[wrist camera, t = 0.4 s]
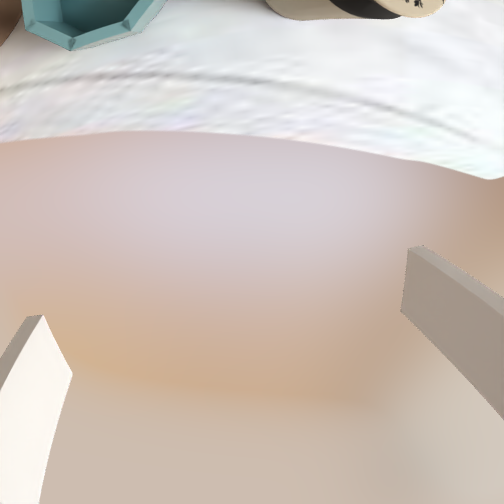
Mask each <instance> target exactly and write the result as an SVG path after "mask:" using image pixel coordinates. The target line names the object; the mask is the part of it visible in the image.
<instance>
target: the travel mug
mask: <svg viewBox="0 0 504 504" xmlns="http://www.w3.org/2000/svg"><path fill="white" fill-rule="evenodd" d="M265 1H266V2H267V4H268V5H269V6H270V7H271V8H272V9H273V10H274V11H275V12H277V13H278V14H280V15H282V16H284V17H286V18H289V19H293V20H299V21H305V20H320V19H394V18H398V17H400V16H405V17H411V18H421V17H426V16H429V15H431V14H433V13H435V12H436V11H438V10H439V9H440V8H441V7H442V6H443V4H444V3H445V1H446V0H265Z"/></svg>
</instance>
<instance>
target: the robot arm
mask: <svg viewBox="0 0 504 504" xmlns="http://www.w3.org/2000/svg"><path fill="white" fill-rule="evenodd" d="M401 312H402V313H403V314H404V315H405V316H406V317H407V318H408V319H409V320H410V321H411V322H412V323H413V324H414V325H415V326H416V327H417V328H418V329H419V330H420V331H421V332H422V333H423V334H424V335H425V336H426V337H427V338H428V339H429V340H430V341H431V342H432V343H433V344H434V345H435V346H436V347H437V348H438V349H439V350H440V351H441V352H442V353H443V354H444V355H445V356H446V357H447V359H448V360H449V361H450V362H451V363H452V364H453V365H454V366H455V367H456V368H457V369H458V370H459V371H460V372H461V373H462V374H463V375H464V376H465V378H467V380H468V381H469V382H470V383H471V384H472V385H473V386H474V387H475V388H476V389H477V390H478V392H479V393H480V394H481V395H482V396H483V397H484V398H485V399H486V400H487V401H488V403H489V404H490V405H491V406H492V407H493V408H494V409H495V410H496V412H497V413H498V414H499V415H500V416H501V417H502V418H503V419H504V298H503V297H502V296H500V295H499V294H497V293H496V292H494V291H493V290H492V289H490V288H489V287H487V286H486V285H484V284H483V283H481V282H480V281H478V280H477V279H475V278H474V277H472V276H471V275H469V274H468V273H466V272H465V271H463V270H462V269H460V268H459V267H457V266H456V265H454V264H452V263H451V262H449V261H448V260H446V259H444V258H443V257H441V256H440V255H438V254H437V253H435V252H433V251H432V250H430V249H428V248H427V247H425V246H424V245H422V246H418V247H414V248H409V249H408V255H407V265H406V274H405V283H404V290H403V298H402V305H401ZM72 375H73V374H72V372H71V370H70V368H69V366H68V364H67V363H66V361H65V359H64V357H63V355H62V353H61V351H60V349H59V347H58V345H57V343H56V341H55V339H54V337H53V335H52V333H51V331H50V329H49V327H48V325H47V322H46V320H45V318H44V316H43V315H37V316H29V317H27V318H26V319H25V321H24V322H23V323H22V325H21V327H20V328H19V330H18V331H17V333H16V334H15V336H14V337H13V339H12V340H11V342H10V344H9V345H8V347H7V348H6V350H5V352H4V353H3V355H2V357H1V358H0V504H39V499H40V493H41V488H42V483H43V479H44V474H45V470H46V465H47V461H48V457H49V452H50V448H51V445H52V441H53V437H54V433H55V430H56V426H57V423H58V419H59V416H60V413H61V409H62V406H63V402H64V400H65V396H66V393H67V390H68V387H69V384H70V381H71V378H72Z"/></svg>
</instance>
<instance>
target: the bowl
mask: <svg viewBox="0 0 504 504" xmlns="http://www.w3.org/2000/svg"><path fill="white" fill-rule="evenodd" d="M21 2H22V10H23V17H24V24H25V30H26V31H29V32H31V33H33V34H35V35H38V36H40V37H42V38H44V39H46V40H48V41H51V42H53V43H55V44H57V45H59V46H61V47H63V48H65V49H67V50H69V51H73V50H80V49H86V48H93V47H96V46H99V45H102V44H105V43H108V42H112V41H116V40H119V39H122V38H125V37H128V36H132V35H136V34H140V33H142V32H143V30H144V29H145V28H146V26H147V25H148V24H149V23H150V21H152V20H153V19H154V17H155V16H156V15H157V14H158V13H159V11H160V10H161V9H162V7H163V6H164V4H165V3H166V2H167V0H21Z"/></svg>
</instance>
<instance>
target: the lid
mask: <svg viewBox="0 0 504 504" xmlns="http://www.w3.org/2000/svg"><path fill="white" fill-rule="evenodd" d="M22 13H23V10H22V2H21V0H0V46H1V45H2V44H3V43H4V42H5V40H6V39H7V38H8V36H9V35H10V34H11V32H12V31H13V29H14V27H15V26H16V24H17V22H18V21H19V19H20V17H21V15H22Z"/></svg>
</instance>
